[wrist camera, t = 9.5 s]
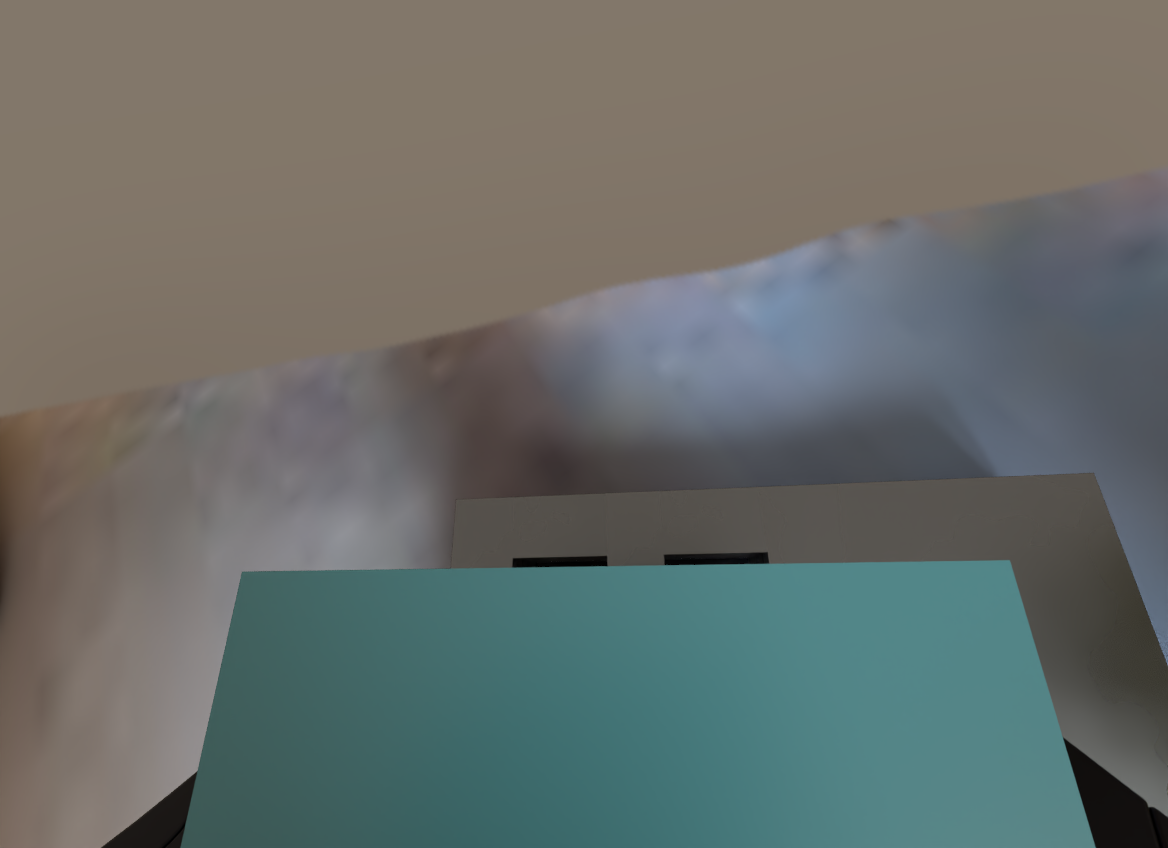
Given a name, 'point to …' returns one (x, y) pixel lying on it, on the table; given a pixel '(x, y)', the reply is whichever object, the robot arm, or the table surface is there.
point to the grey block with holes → (899, 534)
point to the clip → (635, 711)
